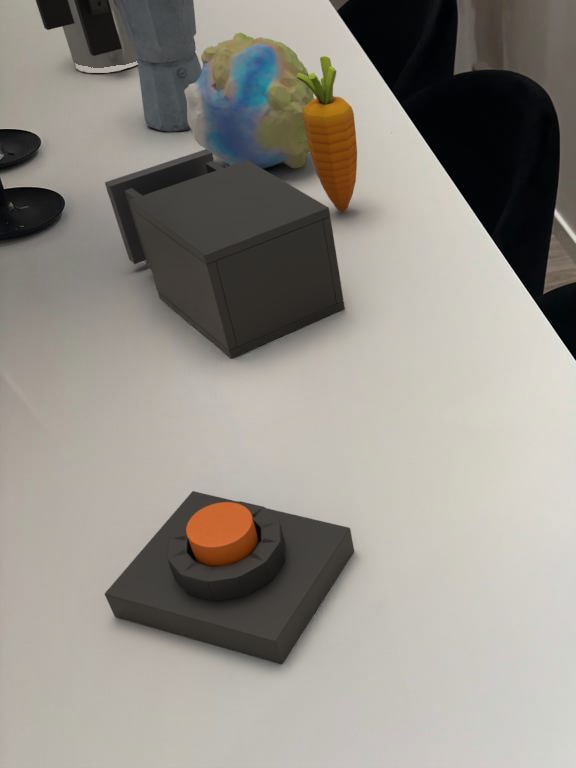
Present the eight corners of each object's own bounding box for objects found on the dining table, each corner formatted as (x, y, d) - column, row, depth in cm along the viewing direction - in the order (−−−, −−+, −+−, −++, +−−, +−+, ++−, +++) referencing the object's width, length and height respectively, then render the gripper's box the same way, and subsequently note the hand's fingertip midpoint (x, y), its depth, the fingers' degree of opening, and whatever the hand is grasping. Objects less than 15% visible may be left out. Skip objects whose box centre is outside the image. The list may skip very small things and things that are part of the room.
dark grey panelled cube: (159, 298, 89) (129, 199, 83) (267, 255, 94) (247, 159, 88) (231, 358, 82) (204, 255, 75) (345, 308, 87) (329, 207, 80)
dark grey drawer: (111, 245, 96) (85, 168, 90) (204, 211, 100) (185, 136, 95) (189, 309, 86) (166, 227, 81) (289, 269, 91) (273, 189, 85)
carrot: (340, 227, 98) (317, 73, 88) (309, 213, 101) (282, 63, 90) (376, 209, 101) (357, 58, 90) (344, 197, 103) (322, 48, 93)
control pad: (114, 617, 61) (94, 573, 58) (200, 513, 67) (185, 470, 65) (282, 664, 57) (269, 621, 55) (354, 551, 64) (346, 507, 61)
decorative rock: (157, 26, 99) (292, 39, 96) (233, 30, 112) (353, 41, 109) (166, 169, 105) (293, 185, 102) (237, 156, 119) (350, 170, 116)
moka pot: (194, 143, 116) (147, -44, 102) (107, 121, 122) (53, -59, 108) (248, 116, 121) (211, -65, 108) (163, 96, 128) (118, -78, 114)
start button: (180, 559, 59) (172, 538, 58) (214, 516, 62) (208, 496, 61) (236, 573, 58) (230, 553, 57) (269, 529, 61) (264, 509, 60)
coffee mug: (74, 56, 141) (51, -20, 135) (143, 46, 143) (124, -29, 137) (75, 86, 132) (50, 6, 125) (149, 75, 134) (128, -4, 127)
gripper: (94, -270, 70) (174, 56, 85) (-14, -279, 83) (72, 4, 98) (-9, -259, 66) (93, 78, 81) (-105, -270, 79) (-1, 22, 95)
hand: (82, 38), depth 90 cm, fingers open, 10 cm apart
